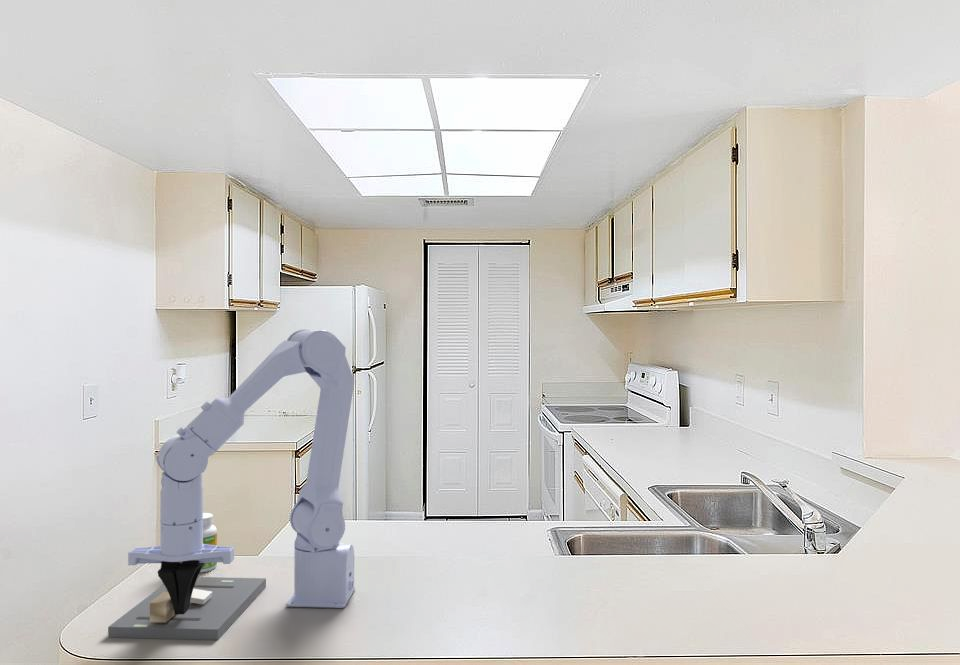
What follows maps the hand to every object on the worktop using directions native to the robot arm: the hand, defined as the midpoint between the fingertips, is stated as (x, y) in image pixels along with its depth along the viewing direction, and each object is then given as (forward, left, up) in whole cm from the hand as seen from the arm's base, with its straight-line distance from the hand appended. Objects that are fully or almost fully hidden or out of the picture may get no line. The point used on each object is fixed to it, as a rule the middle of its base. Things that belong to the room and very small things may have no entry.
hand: (181, 611), depth 98 cm
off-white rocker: (+1, -6, 0) cm, 6 cm away
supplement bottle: (+8, -24, -3) cm, 26 cm away
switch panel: (+1, -7, -3) cm, 7 cm away
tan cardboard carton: (+3, 0, -1) cm, 3 cm away
